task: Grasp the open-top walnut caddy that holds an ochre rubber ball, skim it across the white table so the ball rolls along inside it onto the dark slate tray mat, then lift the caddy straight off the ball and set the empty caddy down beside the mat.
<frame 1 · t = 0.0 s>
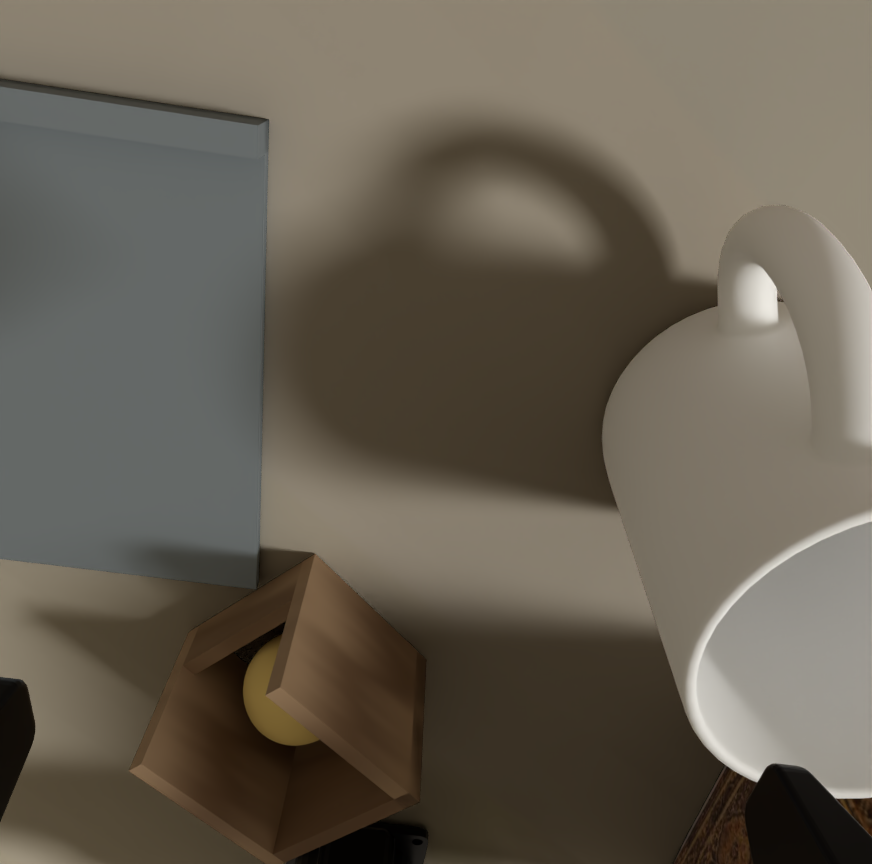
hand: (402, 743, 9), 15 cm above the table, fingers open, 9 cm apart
mug: (722, 361, 22), on the table
caddy: (308, 645, 28), on the table
ball: (299, 686, 27), point 2 cm above the table
tray mat: (4, 356, 23), on the table
book: (777, 777, 32), on the table
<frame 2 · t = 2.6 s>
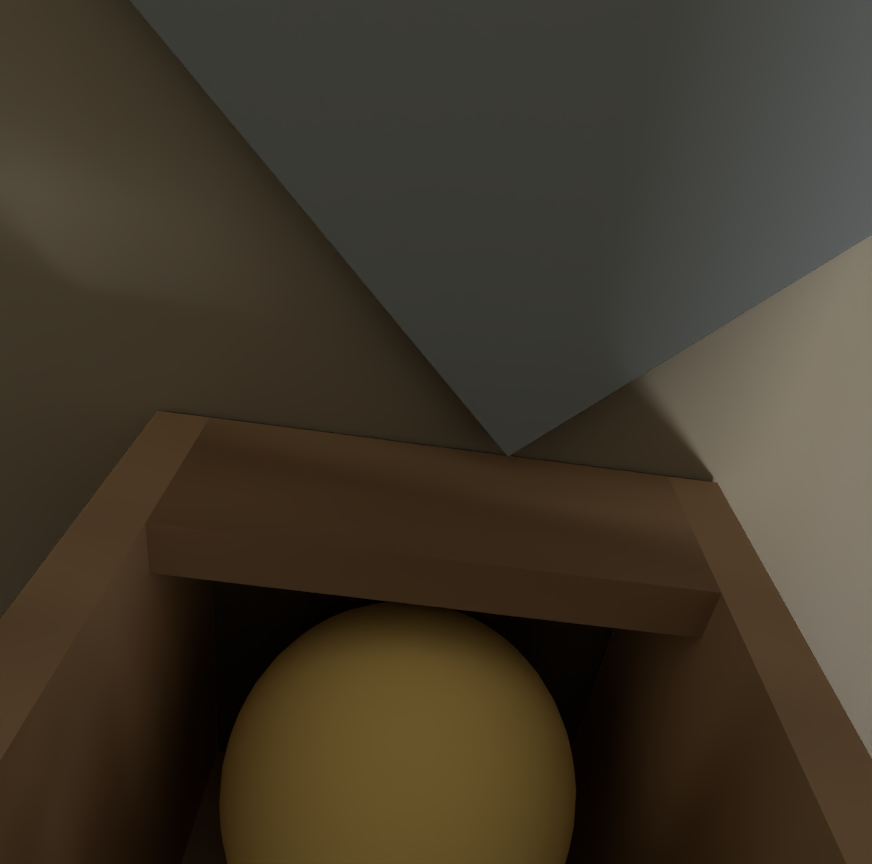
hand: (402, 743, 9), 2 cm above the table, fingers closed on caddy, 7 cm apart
caddy: (409, 648, 10), on the table, touching gripper
ball: (399, 778, 8), point 2 cm above the table
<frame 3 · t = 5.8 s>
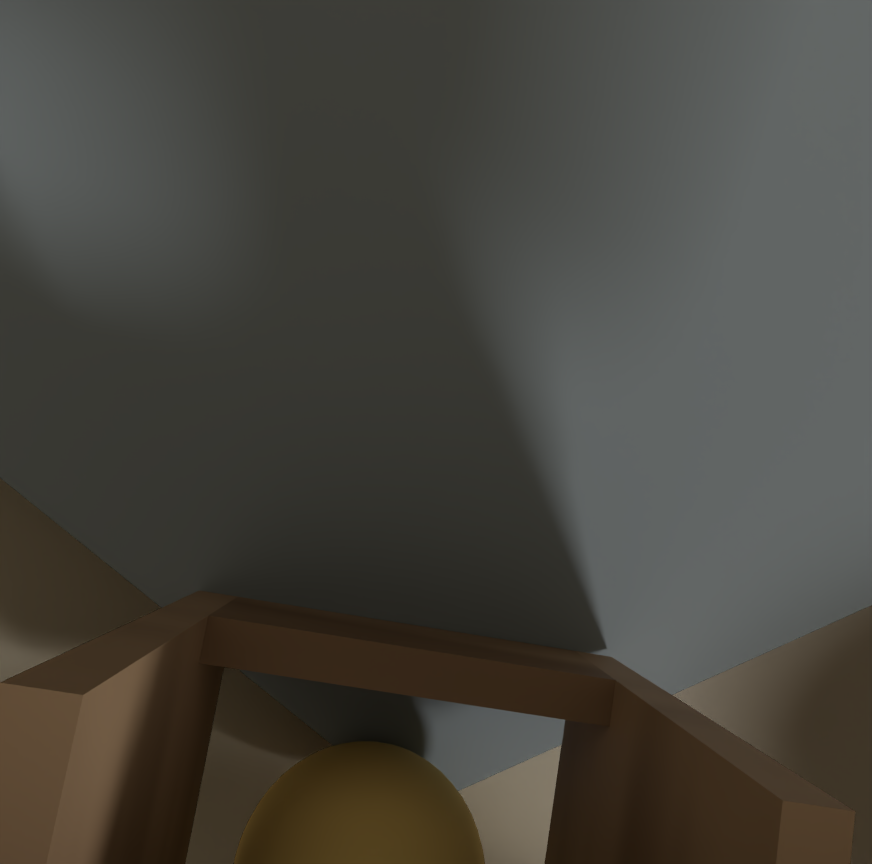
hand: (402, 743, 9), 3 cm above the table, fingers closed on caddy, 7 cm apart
caddy: (371, 842, 11), point 2 cm above the table, tilted 36°, touching ball, gripper
tray mat: (527, 211, 9), on the table
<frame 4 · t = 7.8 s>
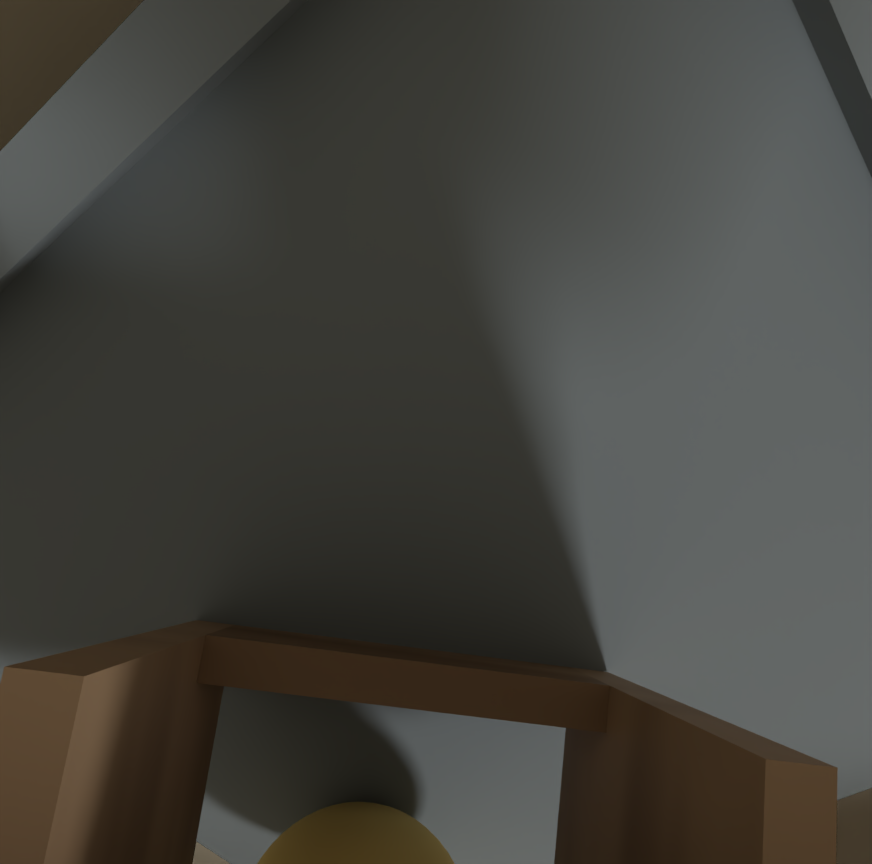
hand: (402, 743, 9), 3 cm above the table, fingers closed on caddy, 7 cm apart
tray mat: (459, 580, 11), on the table
when the fingers open (3 cm above the table, at t = 12.7 s): caddy drops 3 cm, on the table.
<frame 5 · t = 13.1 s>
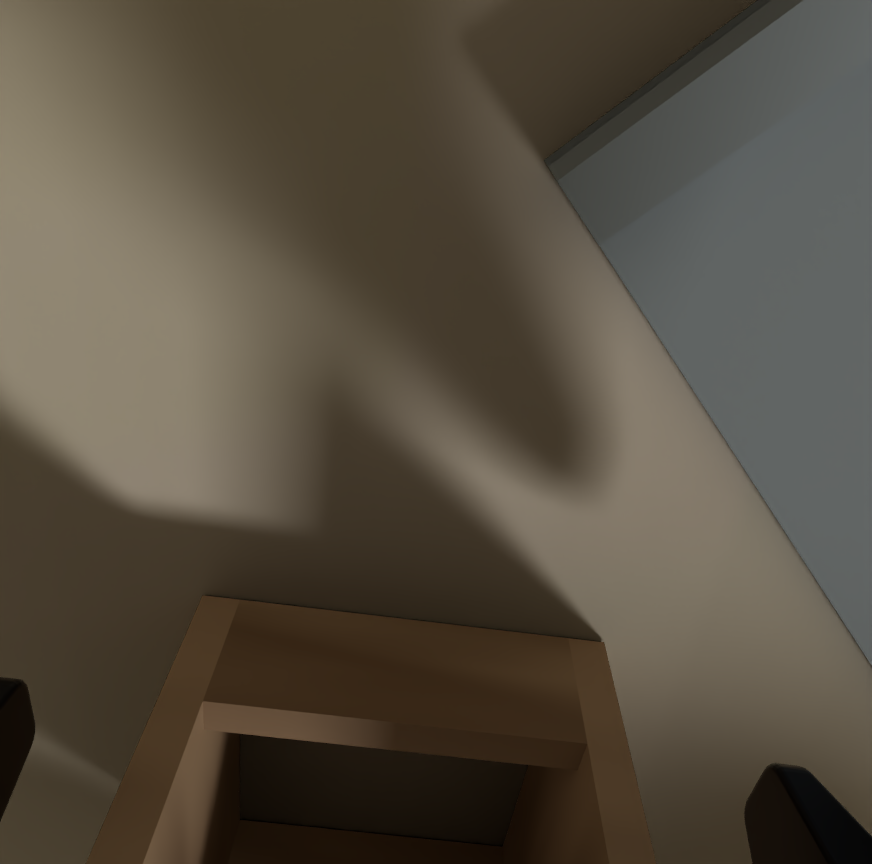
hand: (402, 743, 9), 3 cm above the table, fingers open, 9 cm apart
caddy: (385, 748, 13), on the table
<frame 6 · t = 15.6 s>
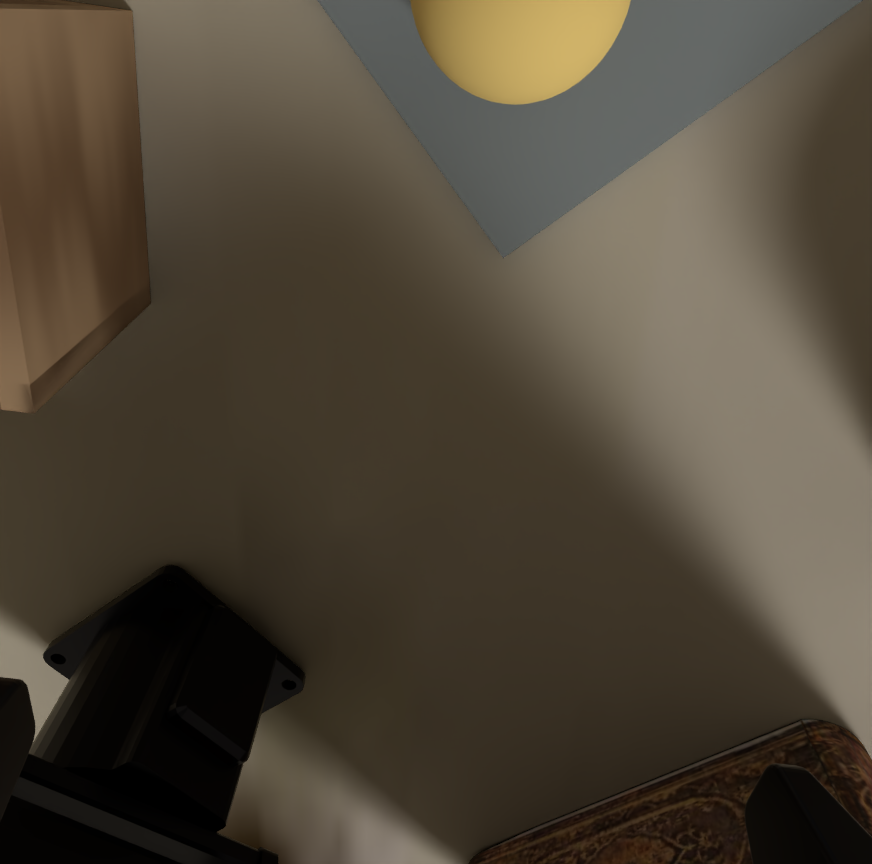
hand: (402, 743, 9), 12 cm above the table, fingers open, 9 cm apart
book: (662, 818, 29), on the table
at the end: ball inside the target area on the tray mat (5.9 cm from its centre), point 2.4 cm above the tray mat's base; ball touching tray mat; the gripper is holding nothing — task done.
